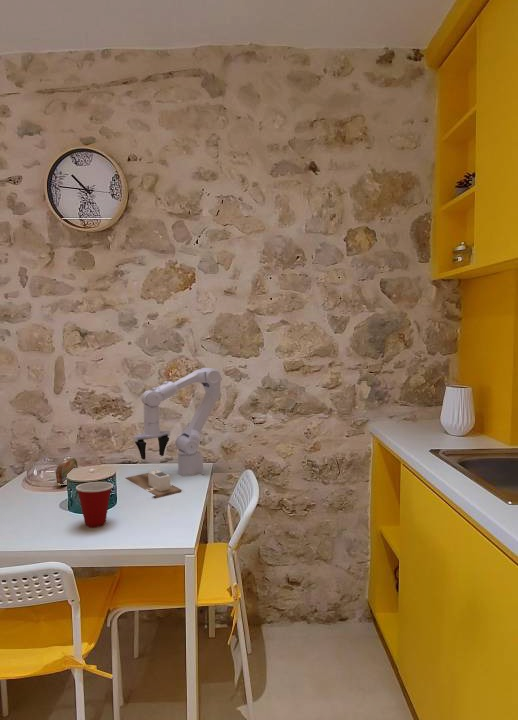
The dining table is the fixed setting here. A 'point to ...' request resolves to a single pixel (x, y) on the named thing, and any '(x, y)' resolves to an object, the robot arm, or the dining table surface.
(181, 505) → the dining table surface
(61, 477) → the brown arched piece
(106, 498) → the plastic cup
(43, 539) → the dining table surface
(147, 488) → the floorboard
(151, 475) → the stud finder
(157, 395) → the robot arm
